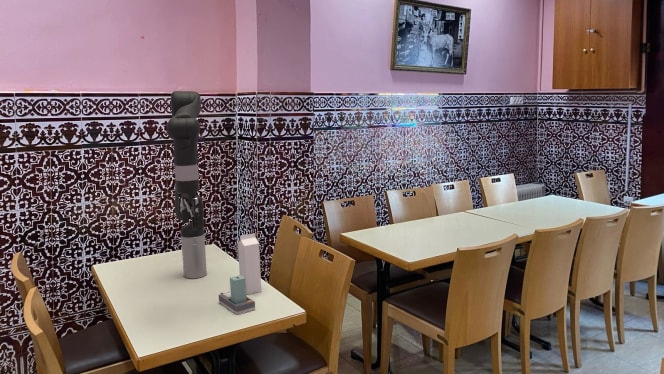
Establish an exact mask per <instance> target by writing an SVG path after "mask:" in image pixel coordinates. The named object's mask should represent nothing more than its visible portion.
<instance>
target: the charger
mask: <svg viewBox="0 0 664 374" xmlns="http://www.w3.org/2000/svg"><path fill="white" fill-rule="evenodd" d="M229 285H230V289H229V290H230V292H231V302H232V303H234V304H238V303H242V302H246V301H247V300H246V296H247V294H246V282H245V278H244V277H243V276H241V275H240V274H239V275H234V276H230V277H229Z"/></svg>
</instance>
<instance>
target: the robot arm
mask: <svg viewBox="0 0 664 374" xmlns="http://www.w3.org/2000/svg"><path fill="white" fill-rule="evenodd" d="M201 98H202V97H201V94H200V93H198V91H192V90H191V91H189V90H188V91H187V90H174V91H172V92H171V94H170V111H171V118H169V120H168V122H167V124H166V133H167V136H168V137H169V138H170V139H171V140H173V164H174V165H173V166H174V178H175V179H174V183H175V185H174V187H175V189H174V214H175V216H176V219H178V220H180V221H181V222H182V224H187V225H184V226H183V227H182V228H181V229H180V241H181V253H182V254H181V255H182V265H183V277H184V278H186V279H199V278H204V277H205V276H207V272H208V271H207V255H206V243H205V242H206V241H205V240H206V239H205V221H204V220H205V219H204V217H205V216H204V215H205V213H204V212H205V210H204V209H205V207H204V202H203V198H202V196H200V195H198V194H197V195H196V193H199V191H200V178H199V177H200V176H199V168H198V167H199V149H198V140H199V137H200V131H201V124H200V122H199V119H197V118H198V116H199V115H200V114H201V110H202V99H201ZM190 220H191V222H190Z"/></svg>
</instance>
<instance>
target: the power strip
mask: <svg viewBox="0 0 664 374" xmlns="http://www.w3.org/2000/svg"><path fill="white" fill-rule="evenodd" d="M246 300H247V301H246V302H242V303H238V304H234V303H232V302H231V291H228V292H220V293H219V294H218V303H219V304H221V306H224V308H225V309H226V308H227V310H229V311H231V312H232V313H234V314H235V315H241V314H245V313H249V312H251V311H255V310H256V301H255V300H254V299H251V298H250V297H248V295H246Z"/></svg>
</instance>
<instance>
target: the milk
mask: <svg viewBox="0 0 664 374" xmlns="http://www.w3.org/2000/svg"><path fill="white" fill-rule="evenodd" d="M237 250H238V267H239V270H238V271H239V275H241V276H243V277H244V278H245V282H246V296H249V295H252V294H256V293H260V292H262V281H261V280H262V279H261V278H262V277H261V257H260V243H259V240H258V239H257V237H256V233H255V232H254V233H249V234H242V235H240V240H238V242H237Z"/></svg>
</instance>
